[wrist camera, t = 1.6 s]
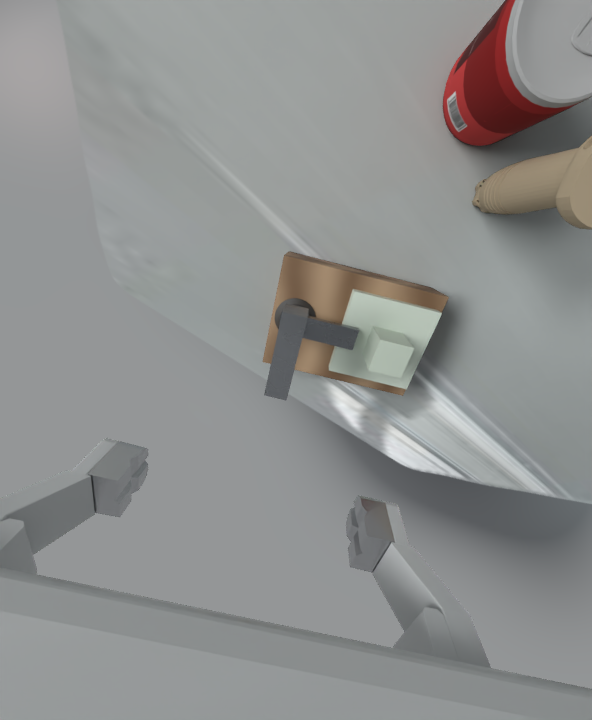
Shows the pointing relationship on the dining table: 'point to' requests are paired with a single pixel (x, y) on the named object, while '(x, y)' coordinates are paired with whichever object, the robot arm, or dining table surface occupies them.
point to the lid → (384, 339)
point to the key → (289, 341)
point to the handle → (543, 186)
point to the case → (336, 306)
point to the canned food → (520, 70)
